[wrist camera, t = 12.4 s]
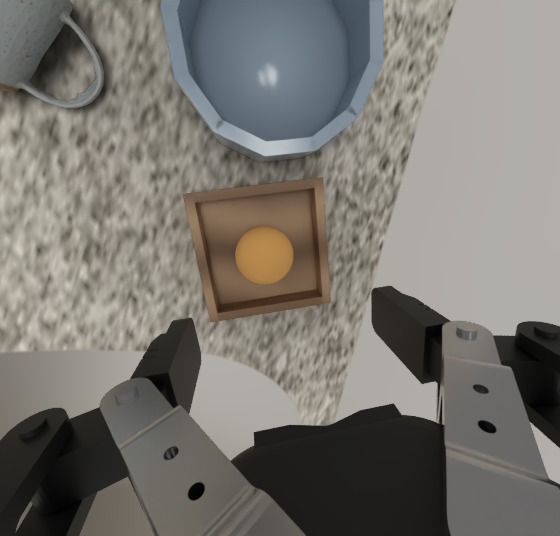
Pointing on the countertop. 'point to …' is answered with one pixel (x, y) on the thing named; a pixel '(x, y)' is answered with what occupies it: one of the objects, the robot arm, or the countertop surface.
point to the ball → (264, 255)
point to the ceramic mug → (38, 46)
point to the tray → (245, 216)
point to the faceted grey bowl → (275, 68)
